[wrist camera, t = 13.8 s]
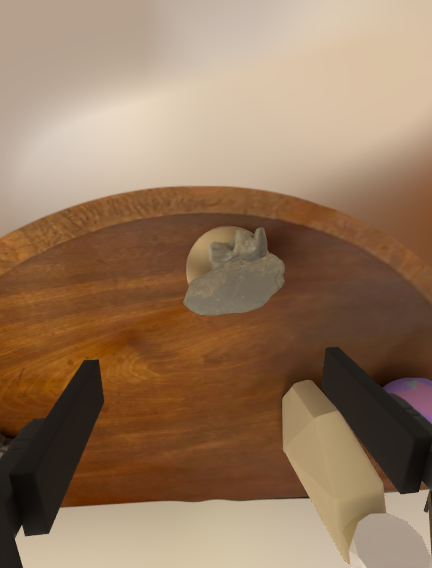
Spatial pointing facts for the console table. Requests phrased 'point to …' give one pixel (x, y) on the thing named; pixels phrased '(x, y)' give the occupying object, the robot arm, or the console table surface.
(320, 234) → the console table surface
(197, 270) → the maple disc
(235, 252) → the fossil
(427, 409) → the decorative ball
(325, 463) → the perfume bottle
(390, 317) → the console table surface
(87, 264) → the console table surface
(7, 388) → the console table surface
